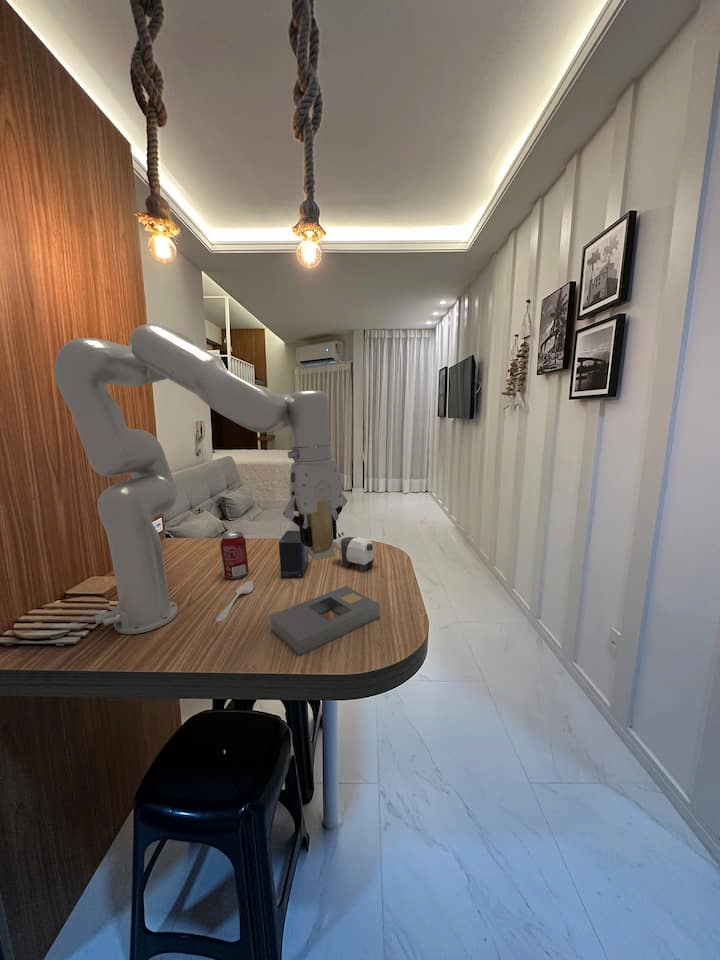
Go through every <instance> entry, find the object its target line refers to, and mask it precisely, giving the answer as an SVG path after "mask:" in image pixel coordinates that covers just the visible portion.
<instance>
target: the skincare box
mask: <svg viewBox="0 0 720 960" xmlns="http://www.w3.org/2000/svg"><path fill="white" fill-rule="evenodd" d="M316 503H317V510H318V512H315V513H313V514H310V520H309V527H310V528H311V533H312V547H307V546H306V548H307V552H308V556H310V557H311V558H312V560H313V561H316V562H317V561H320V560H324V559H329V558H335V548H334V544H333V528H332V512H331V500H330V499H325V500H321V501H319V502H316Z"/></svg>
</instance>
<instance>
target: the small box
mask: <svg viewBox="0 0 720 960" xmlns="http://www.w3.org/2000/svg"><path fill="white" fill-rule="evenodd" d="M285 531H286V532H285V533H284V534H283V536H282V537H281V538H280V539H279V541H278V551H279V562H280V563H279V566H280V578H281V579H282V578H283V579H287V578H288V579H289V578H293V579H295V578H298V579H299V578H303V577H304V574H305V572H306V570H307V567H308V565H309V554H308V552H307V548H306V546H305V545H303V544H302V542H301V540H300V530H285Z"/></svg>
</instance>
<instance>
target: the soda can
mask: <svg viewBox="0 0 720 960" xmlns="http://www.w3.org/2000/svg"><path fill="white" fill-rule="evenodd" d="M246 540H247V539H246V538H245V536H244V535H243V532H241V531H230V532H226V533H223V534H222V535H221V540H220V542H219V545H220V555H221V565H222V574H223V577H224V578H226V579H230V580H236V579H241V578H243V577H244V576H246V575H247V574H248V573H249V562H248V553H247V552H248V551H247V543H246V542H247V541H246Z"/></svg>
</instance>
